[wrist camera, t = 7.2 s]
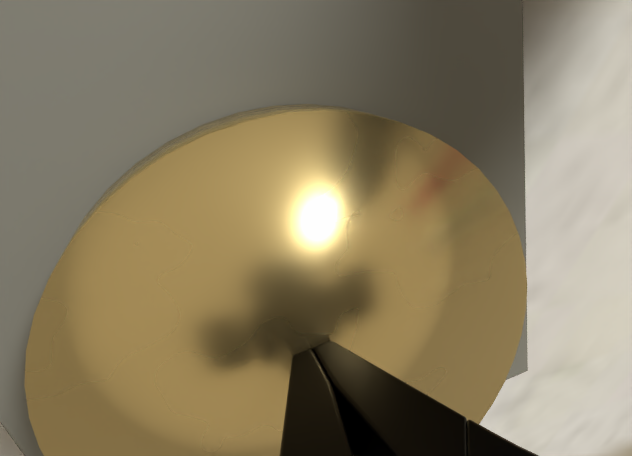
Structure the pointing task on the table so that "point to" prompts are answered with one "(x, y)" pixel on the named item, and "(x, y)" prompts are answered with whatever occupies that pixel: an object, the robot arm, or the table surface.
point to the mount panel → (224, 107)
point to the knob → (271, 283)
